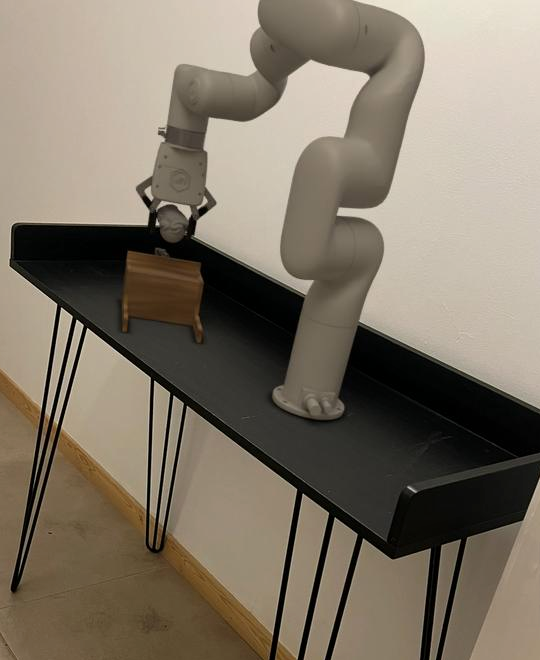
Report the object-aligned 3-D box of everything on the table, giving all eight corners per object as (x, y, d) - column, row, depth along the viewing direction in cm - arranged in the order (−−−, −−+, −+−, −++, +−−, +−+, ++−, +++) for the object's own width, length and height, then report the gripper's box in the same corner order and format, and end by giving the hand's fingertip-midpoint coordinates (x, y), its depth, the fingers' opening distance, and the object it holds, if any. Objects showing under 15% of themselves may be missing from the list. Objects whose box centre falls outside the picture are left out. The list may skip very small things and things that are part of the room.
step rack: (200, 343, 163) (210, 289, 158) (122, 331, 160) (129, 277, 155) (192, 311, 180) (200, 262, 175) (121, 300, 177) (127, 250, 172)
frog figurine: (162, 235, 171) (167, 200, 167) (192, 244, 168) (198, 209, 165) (146, 238, 166) (151, 201, 162) (177, 248, 163) (183, 211, 160)
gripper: (139, 132, 153) (126, 232, 161) (232, 150, 156) (215, 247, 165) (138, 127, 159) (126, 224, 168) (227, 145, 163) (211, 238, 171)
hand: (170, 235), depth 166 cm, fingers closed on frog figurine, 6 cm apart
